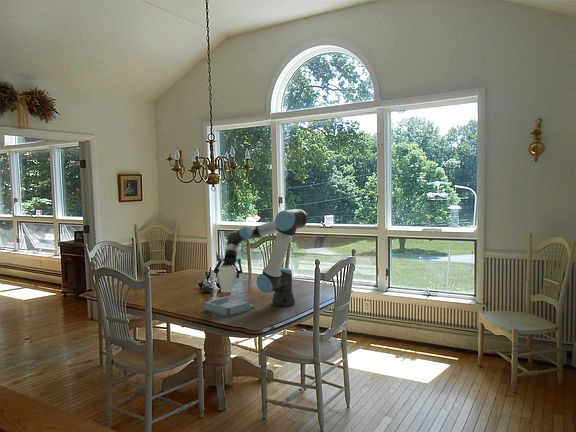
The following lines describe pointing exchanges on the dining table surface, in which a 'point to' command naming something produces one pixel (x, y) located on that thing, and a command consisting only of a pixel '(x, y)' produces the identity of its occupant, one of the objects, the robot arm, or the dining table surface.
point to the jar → (227, 278)
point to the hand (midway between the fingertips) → (226, 282)
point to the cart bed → (226, 306)
